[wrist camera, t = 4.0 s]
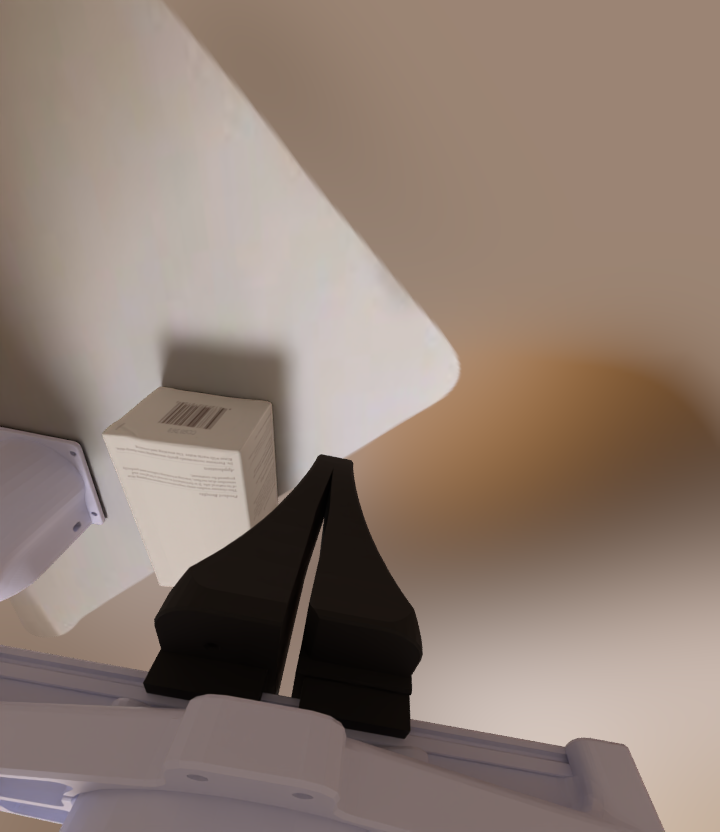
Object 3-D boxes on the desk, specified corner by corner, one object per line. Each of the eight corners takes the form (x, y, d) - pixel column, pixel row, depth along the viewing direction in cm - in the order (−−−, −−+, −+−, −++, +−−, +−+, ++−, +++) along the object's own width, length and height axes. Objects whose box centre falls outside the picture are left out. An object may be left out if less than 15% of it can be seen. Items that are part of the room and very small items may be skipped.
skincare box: (159, 383, 23) (193, 525, 31) (92, 433, 18) (153, 587, 26) (279, 400, 23) (282, 538, 31) (245, 456, 18) (259, 604, 26)
